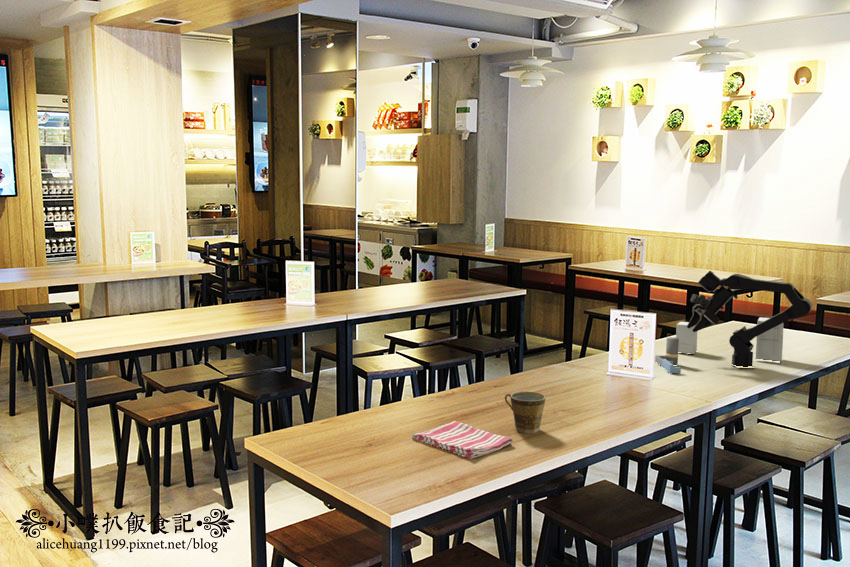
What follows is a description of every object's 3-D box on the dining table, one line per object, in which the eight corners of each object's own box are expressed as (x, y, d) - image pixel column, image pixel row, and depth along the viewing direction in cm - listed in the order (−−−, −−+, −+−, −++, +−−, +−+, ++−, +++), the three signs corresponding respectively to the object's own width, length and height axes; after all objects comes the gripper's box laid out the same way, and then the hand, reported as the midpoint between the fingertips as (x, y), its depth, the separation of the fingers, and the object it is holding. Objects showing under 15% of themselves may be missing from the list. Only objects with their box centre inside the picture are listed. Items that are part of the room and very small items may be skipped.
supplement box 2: (782, 359, 308) (784, 318, 306) (780, 364, 300) (783, 322, 298) (756, 356, 313) (759, 316, 311) (754, 361, 305) (757, 320, 302)
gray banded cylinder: (675, 363, 301) (677, 337, 300) (679, 366, 296) (680, 339, 295) (663, 363, 301) (665, 337, 300) (667, 366, 296) (668, 339, 295)
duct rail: (665, 361, 304) (665, 353, 303) (680, 374, 284) (680, 364, 284) (655, 361, 304) (655, 352, 304) (669, 373, 284) (670, 364, 284)
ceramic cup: (551, 429, 220) (552, 395, 218) (532, 437, 212) (532, 403, 211) (514, 420, 228) (515, 387, 227) (494, 427, 221) (495, 394, 219)
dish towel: (471, 462, 195) (471, 449, 194) (410, 440, 211) (410, 428, 211) (514, 447, 206) (514, 434, 206) (453, 427, 223) (453, 415, 223)
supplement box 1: (697, 352, 321) (698, 322, 320) (693, 355, 315) (694, 325, 313) (679, 350, 325) (680, 321, 324) (674, 353, 319) (676, 323, 317)
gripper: (696, 284, 306) (669, 312, 308) (709, 289, 287) (680, 319, 289) (717, 302, 305) (690, 330, 308) (731, 308, 287) (702, 338, 289)
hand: (690, 329), depth 299 cm, fingers open, 9 cm apart
